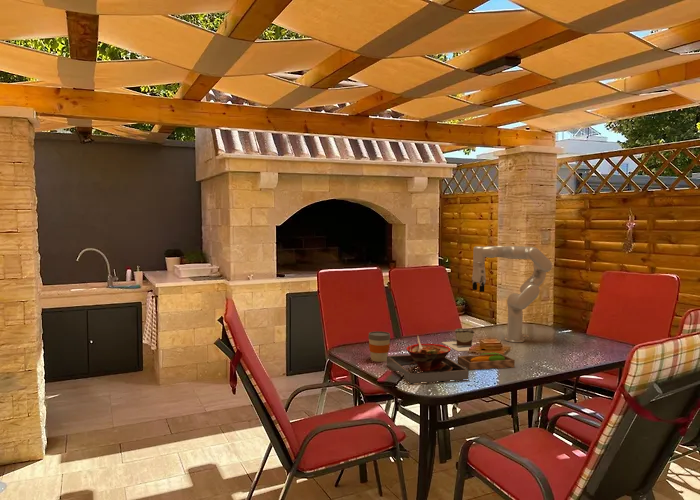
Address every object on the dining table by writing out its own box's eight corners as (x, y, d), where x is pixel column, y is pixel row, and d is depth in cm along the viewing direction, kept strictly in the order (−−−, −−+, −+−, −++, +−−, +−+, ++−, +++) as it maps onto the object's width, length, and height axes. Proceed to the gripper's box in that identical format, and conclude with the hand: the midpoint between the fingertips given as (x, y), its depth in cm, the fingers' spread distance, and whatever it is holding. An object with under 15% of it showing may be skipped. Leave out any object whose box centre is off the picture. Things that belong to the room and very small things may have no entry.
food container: (471, 343, 345) (472, 328, 345) (474, 345, 339) (474, 330, 339) (452, 343, 345) (452, 328, 345) (454, 345, 339) (455, 330, 339)
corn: (507, 353, 292) (473, 354, 288) (508, 367, 292) (473, 369, 288) (501, 351, 300) (467, 352, 296) (501, 364, 299) (468, 366, 295)
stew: (401, 363, 299) (401, 334, 298) (443, 362, 301) (444, 334, 300) (411, 378, 271) (412, 346, 270) (458, 377, 273) (458, 346, 272)
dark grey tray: (439, 362, 301) (439, 353, 301) (468, 380, 268) (468, 370, 267) (386, 365, 294) (387, 356, 293) (410, 384, 260) (410, 374, 260)
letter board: (469, 341, 355) (469, 340, 355) (487, 349, 332) (487, 348, 332) (441, 342, 350) (441, 341, 350) (458, 351, 327) (458, 350, 327)
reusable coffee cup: (375, 363, 297) (375, 336, 296) (364, 358, 308) (364, 332, 307) (394, 361, 303) (394, 334, 302) (382, 355, 314) (383, 330, 313)
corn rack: (500, 360, 306) (501, 353, 306) (514, 367, 293) (514, 360, 293) (457, 363, 299) (457, 356, 299) (469, 370, 286) (469, 362, 286)
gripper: (490, 266, 347) (489, 292, 348) (477, 264, 364) (477, 289, 365) (480, 266, 345) (479, 292, 346) (467, 264, 362) (467, 289, 363)
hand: (478, 290), depth 356 cm, fingers open, 9 cm apart
